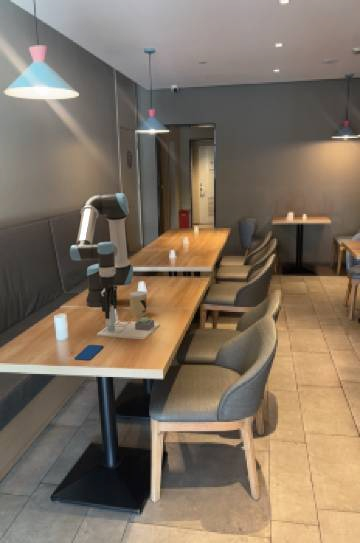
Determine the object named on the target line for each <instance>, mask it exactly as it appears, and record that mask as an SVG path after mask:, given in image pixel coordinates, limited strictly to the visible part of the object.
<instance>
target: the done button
mask: <svg viewBox="0 0 360 543" xmlns="http://www.w3.org/2000/svg"><path fill="white" fill-rule="evenodd" d="M149 319H150V318H149V317H146V316H143V317H139V320H140V323H148V322H149Z"/></svg>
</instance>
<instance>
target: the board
mask: <svg viewBox="0 0 360 543" xmlns="http://www.w3.org/2000/svg"><path fill="white" fill-rule="evenodd" d="M159 327H160V323H157V322H156V323H155V320H154V319H150V318H149V322H148V323H140V319H139V320H137V321H132V320H131V321H128V320H127V321H126V320H117V319H116V322H115V331H111V332H110V331H107V326H106V327H104V328H103V329H101V330H100V331H98V332H97V333H96V336H97V337H99V336H100V337H108V338H109V337H110V338H121V339H134V340H146V339H147V338H148V337H149V336H150V335H151V334H152V333H153V332H155V331H156V330H157V329H158V328H159Z"/></svg>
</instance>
